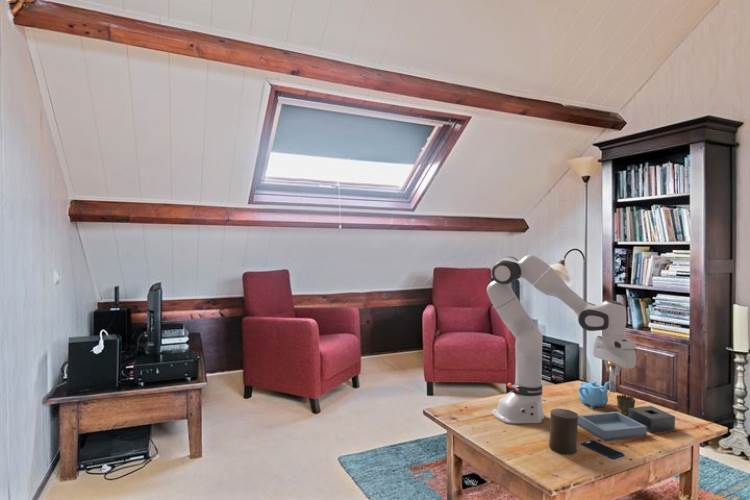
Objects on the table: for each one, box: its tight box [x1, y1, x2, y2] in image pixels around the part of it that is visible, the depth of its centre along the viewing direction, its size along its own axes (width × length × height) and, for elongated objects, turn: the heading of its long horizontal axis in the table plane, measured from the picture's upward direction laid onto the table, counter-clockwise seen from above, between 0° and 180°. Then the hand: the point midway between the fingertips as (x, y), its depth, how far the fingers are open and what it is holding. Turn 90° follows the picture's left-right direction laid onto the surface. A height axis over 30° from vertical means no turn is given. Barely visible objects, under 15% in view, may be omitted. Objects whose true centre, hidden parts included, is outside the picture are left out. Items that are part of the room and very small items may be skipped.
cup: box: [616, 394, 636, 417], centre depth 210 cm, size 8×7×8 cm
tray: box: [578, 411, 648, 442], centre depth 193 cm, size 20×16×4 cm
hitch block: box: [627, 405, 676, 434], centre depth 198 cm, size 12×12×6 cm
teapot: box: [578, 381, 609, 409], centre depth 223 cm, size 13×14×11 cm
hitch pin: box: [608, 362, 617, 393], centre depth 193 cm, size 4×4×12 cm
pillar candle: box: [548, 408, 579, 455], centre depth 176 cm, size 10×10×15 cm
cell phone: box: [580, 439, 625, 460], centre depth 176 cm, size 7×14×1 cm, turn 28°
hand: (612, 373), depth 193 cm, fingers closed on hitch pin, 2 cm apart
